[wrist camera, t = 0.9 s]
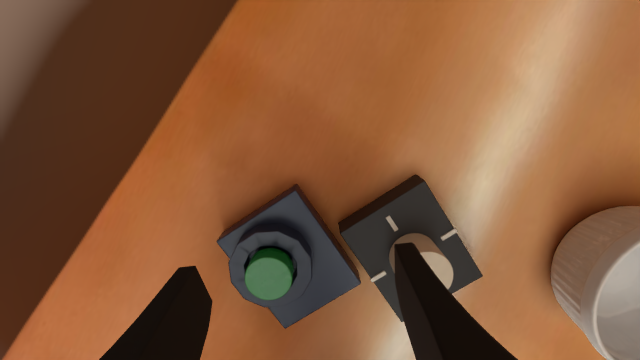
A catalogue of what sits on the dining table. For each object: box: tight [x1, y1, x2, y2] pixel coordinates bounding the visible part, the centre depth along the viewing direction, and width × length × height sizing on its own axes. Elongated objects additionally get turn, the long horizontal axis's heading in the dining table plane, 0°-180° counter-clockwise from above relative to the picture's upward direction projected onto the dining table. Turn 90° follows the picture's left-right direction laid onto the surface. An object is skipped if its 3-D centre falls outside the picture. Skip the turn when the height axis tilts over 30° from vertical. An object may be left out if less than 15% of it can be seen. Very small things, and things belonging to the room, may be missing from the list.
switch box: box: [217, 184, 361, 328], centre depth 30 cm, size 10×8×4 cm
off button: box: [245, 248, 294, 300], centre depth 27 cm, size 4×4×2 cm
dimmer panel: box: [338, 175, 482, 322], centre depth 30 cm, size 10×8×3 cm
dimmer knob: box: [389, 233, 453, 289], centre depth 27 cm, size 4×4×4 cm
